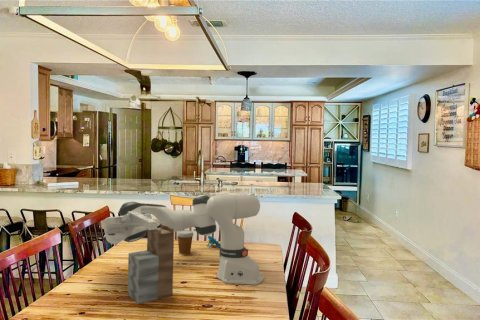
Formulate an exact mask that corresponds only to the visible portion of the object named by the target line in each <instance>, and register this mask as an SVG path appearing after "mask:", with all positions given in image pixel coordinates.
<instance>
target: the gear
mask: <svg viewBox="0 0 480 320" xmlns="http://www.w3.org/2000/svg"><path fill="white" fill-rule="evenodd" d="M207 239H208V242H207V244H206V247H208V248H209V249H211V248H212V247H213V245H214V246H216V247H218V248H220V246H221V242H220V241H218V240H217V239H216V238H215V237H213V236H211V235H208V236H207Z"/></svg>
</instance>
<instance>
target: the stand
mask: <svg viewBox="0 0 480 320" xmlns="http://www.w3.org/2000/svg"><path fill="white" fill-rule="evenodd" d="M146 235H147V242H146V243H147V244H146V250H141V251H134V252H129V253H128V262H127V266H128V267H127V295H128V296H129V297H130V298H131V299H132V300H133V301H135V303H137V304H138V305H140V304H144V303H148V302H152V301H155V300H159V299H164V298H167V297H171V296H173V291H174V290H173V285H174V284H173V283H174V252H175V251H174V247H175V246H174V245H175V243H174V241H175V232H174V229H173V228H171V227H168V226H166V225H163V224H160V223H159V227H157V229H155V230H148V229H147V232H146ZM143 302H144V303H143ZM139 303H140V304H139Z"/></svg>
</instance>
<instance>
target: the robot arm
mask: <svg viewBox="0 0 480 320" xmlns="http://www.w3.org/2000/svg"><path fill="white" fill-rule="evenodd" d="M192 207H193V208H192V209H193V210H192V211H191V210H188V209H177V210H173V209H171V208H169V207H167V206H166V205H163V204H155V203H144V202H142V203H141V202H136V201H128V202H125V203H122V205H121V206H120V208H119V210H118V213H119V215H118V216H110V217H108V216H107V217H106V218H105V219H104V220H103V222H102V223H103V230H104V235H105V239H106V241H107V242H108V243H110V245H116V244H119V243H122V242H127V243H133V242H137V241H139V240H141V239H143V238H144V237H145V236H146V235H147V232H148V229H146V228H144V227H142V226H141V225H139V224H137V223H135V222H133V221H131V220H129V219H130V218H131V216H130V215H131V214H128V212H129V211H136V212H138V213H140V214H142V215H144V216H146V217H148V218H150V219H152V220H153V217H152V215H153V216H154V218H155V219H157V222H159V225H160V224H163V225H166V226H168V227H171V228H173V229H174V233H176V232H178V231H181V230H187V229H190V228H194V229H193V232H196V233H197V234H198V235H199V236H207V237H208V236H211V235H213V234H214V233H215V232H216V231H217V226H218V228H219V231H220V244H221V246H220V247H219V252H218V253H219V263H218V269H217V273H216V275H215V276H216V278H218V280H221V282H223V283H224V284H237V285H250V286H251V285H252V286H256V285H259V284H261V283H262V282H263V281H264V279H265V275H264V273H262V272H260V267H259V266H260V265H259V264H258V263H257V262H256V261H255V259H253V258H251V256H250V255H249V248H246V246H245V231H244V229H243V228H242V227H241V226H239V225H237V224H236V223H234V222H233V220H240V219H248V218H252V217H256V216H257V215H258V214H259V212H260V210H261V203H260V200H259V198H258V197H257V196H256V195H255V196H254V195H251V194H217V195H214V196H209V195H205V194H200V195H197V196H196V197H193V199H192ZM216 223H217V224H216Z"/></svg>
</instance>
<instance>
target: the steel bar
mask: <svg viewBox="0 0 480 320" xmlns="http://www.w3.org/2000/svg"><path fill="white" fill-rule="evenodd" d="M128 214H131V215H130V216H131V218H130V219H129V220H131V221H133V222H135V223H137V224H139V225H141V226H142V227H144V228H146V229H147V231H148V230H155V229H157V228H158V226H157V224H158V220H154V219H153V218H152V219H150V218H148V217H146V216H144V215H142V214H143V213H142V214H140V213H138V212H136V211H129V212H128Z"/></svg>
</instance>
